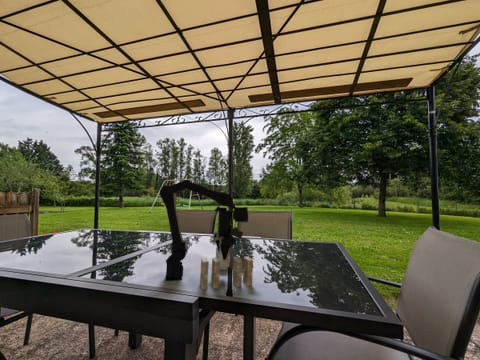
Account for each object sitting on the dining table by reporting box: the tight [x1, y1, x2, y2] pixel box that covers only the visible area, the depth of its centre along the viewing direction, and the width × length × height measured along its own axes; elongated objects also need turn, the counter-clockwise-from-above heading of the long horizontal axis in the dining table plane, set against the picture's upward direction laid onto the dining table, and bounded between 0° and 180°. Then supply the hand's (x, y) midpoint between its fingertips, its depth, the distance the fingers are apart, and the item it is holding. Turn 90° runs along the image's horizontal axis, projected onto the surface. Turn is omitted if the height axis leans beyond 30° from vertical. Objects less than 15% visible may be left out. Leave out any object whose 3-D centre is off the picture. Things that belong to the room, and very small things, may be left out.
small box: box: [215, 246, 231, 271], centre depth 116 cm, size 8×6×10 cm
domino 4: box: [232, 256, 243, 288], centre depth 93 cm, size 2×6×10 cm, turn 17°
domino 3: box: [219, 250, 228, 269], centre depth 100 cm, size 2×6×10 cm, turn 17°
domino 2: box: [210, 257, 221, 290], centre depth 90 cm, size 2×6×10 cm, turn 17°
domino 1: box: [199, 257, 209, 290], centre depth 89 cm, size 2×6×10 cm, turn 17°
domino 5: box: [242, 256, 254, 287], centre depth 94 cm, size 2×6×10 cm, turn 17°
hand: (222, 258), depth 100 cm, fingers closed on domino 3, 6 cm apart
